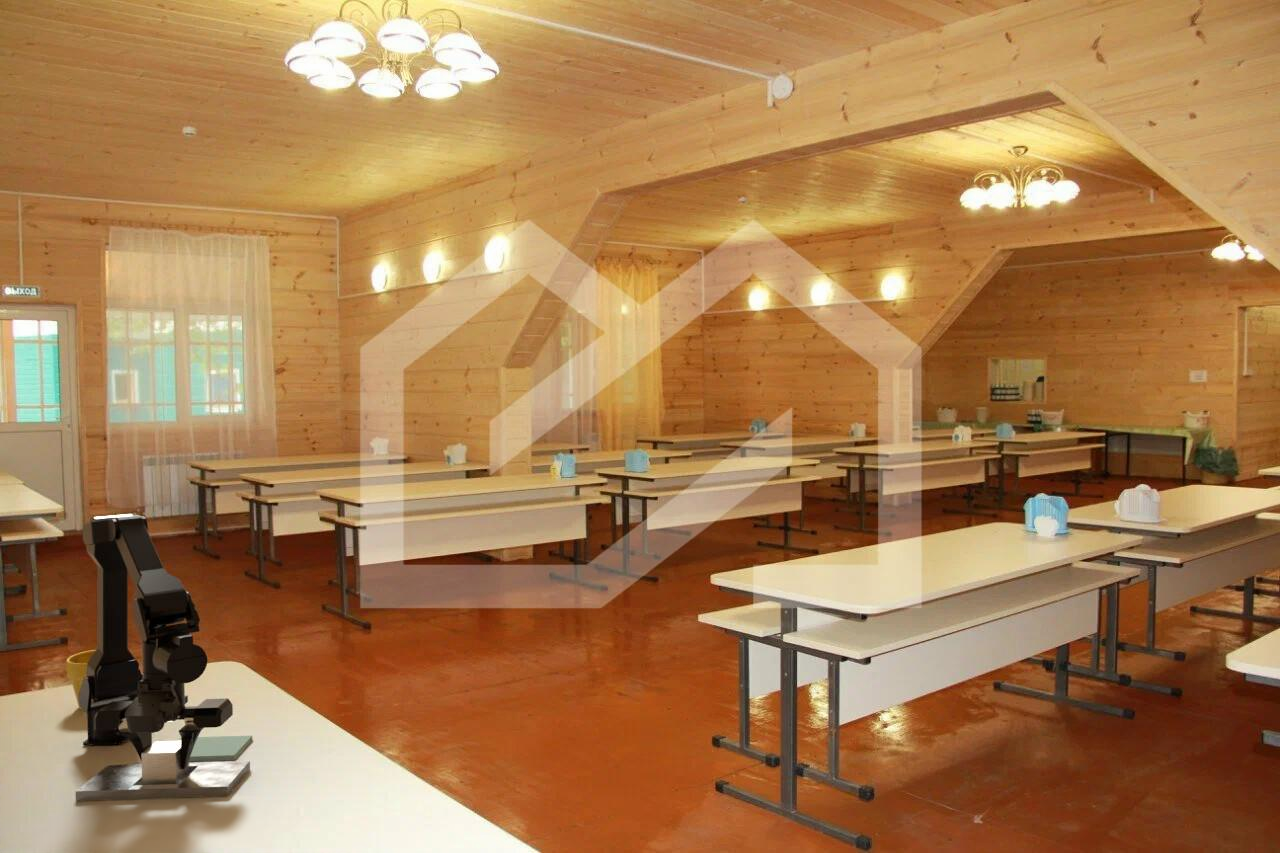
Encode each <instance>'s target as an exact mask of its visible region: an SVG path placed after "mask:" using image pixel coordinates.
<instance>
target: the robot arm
mask: <svg viewBox="0 0 1280 853" xmlns="http://www.w3.org/2000/svg"><path fill="white" fill-rule="evenodd" d="M82 540H83V543H84V545H85V548H86V552H87V554H88V555H89V556H90V559H92V561H93V562H94V563H95V564H96V566H97V567H96V568H97V577H96V578H97V582H96V583H97V590H96V591H97V594H96V596H97V608H96V609H97V619H96V620H97V621H96V622H97V626H96V627H97V631H96V632H97V634H96V635H97V649H95V650H96V651H95V653H94V654H93V656H92V657H91V659H90V660H89V662H88V663H87V672H86V677H84V679H83V682H82V685H81V688H80V690H79V693H78V699H79V706H80V707H81V708H82V709H83V710H82V711H84V712H85V713H86V717H87V718H86V720H87V722H86V724H87V725H86V726H87V739H85V740H84V741H83V742H82V745H83V746H104V745H105V746H107V745H111V746H112V745H121V744H124V742H126V741H128V740H130V742H131V744H132V745H133V747H134V749H135V751H136V754H137V756H138V758H139V759H140V762H141V763H142V756H141V753H143V752H144V751H145V750H146V749H147V748H149V747H150V746H151V745H152V744H153V734H155V733H158V732H161V731H162V730H163V729H164V726H165V724H166V723H168V722H176V721H179V720H180V721H182V720H183V721H184V724H185V725H183V726H182V727H180V729H179V730H178V733H179V736H180V738H181V757H180V762H181V769H185V768H186V766H187V764H188V761H189V758H190V756H191V753H192V750H193V748H194V745H195V742H196V740H197V738H198V737H200V736H199V735H200V733H201V731H202V730H203V729H205V728H219V727H222V725H224V724H225V723H226V722H227V721H229V719H230V718H231V717H232V716H233V712H234V711H233V710H234V709H233V702H232V701H231V700H230V699H229V698H227V697H226V698H225V697H224V698H206V699H204V700H203V701H202V702H201V703H200V704H198V706H195V705H194V706H186V705H187V703H188V702H189V698H188V697H189V696H188V695H186V694H185V692H186V690H185V684H189V683H192V682H194V681H196V680H197V679H199V678H200V677H202V675H203V674H204V672H205V670H206V668H207V665H208V656H207V654H206V652H205V650H204V649H203V647H201V646H200V645H198V644H196V643H194V636H193V635H191V634H193V633H198V632H200V626H199V624H200V622H201V619H200V615H199V614H198V610H197V608H196V605H195V603H194V600H193V598H192V596H191V595H190V592H189V591H187V590H186V588H185V587H184V585H183V583H182V582H181V580H180V579H179V578H178V577H176V576H174V575H173V574H170V573H169V572H167V571H166V569H165V567H164V565H163V562H162V560H161V558H160V555H159V554H158V551H157V549H156V547H155V545H154V541H152V538H151V535H150V533H149V527H148V520H147V517H145V516H143V515H139V514H137V515H135V514H134V515H133V514H132V513H125V514H116V515H115V514H113V515H112V514H111V515H102V516H101V515H100V516H92V517H91V518H90V519H89V522H86V523H85V524H84V525H83V526H82ZM129 577H130V578H131V581H132V584H133V586H134V589H135V592H134V594H133V600H132V602H131V614H132V618H133V621H134V623H135V625H136V628H137V631H138V633H139V635H140V638H141V640H142V641H141V647H142V648H141V650H142V651H141V654H142V655H141V656H142V672H141V669H140V663H139V662H138V660H136V658H135V657H134V655H133V654H132V653H131V651H130V650H129V643H128V642H129V641H128V640H129V636H128V635H129V634H128V633H129V632H128V630H129V628H128V626H129V625H128V624H129V602H128V600H129V599H128V598H129V588H128V587H129V585H128V584H129V579H128V578H129ZM185 620H186V622H184V621H185ZM79 706H78V707H79ZM189 762H190V761H189Z"/></svg>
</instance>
